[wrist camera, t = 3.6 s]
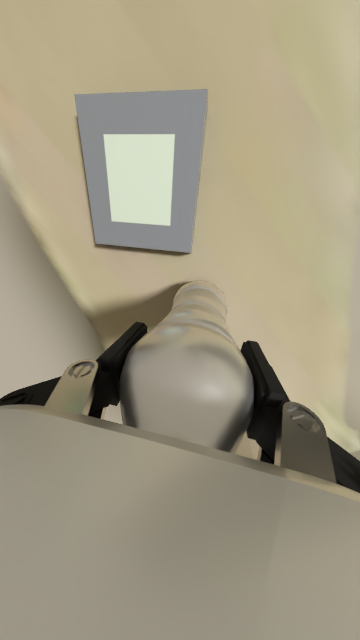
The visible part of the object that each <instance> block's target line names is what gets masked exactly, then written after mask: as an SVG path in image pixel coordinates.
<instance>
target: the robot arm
mask: <svg viewBox="0 0 360 640" xmlns="http://www.w3.org/2000/svg"><path fill="white" fill-rule="evenodd" d="M146 333H147V326H146V325H145V324H144V323H140V322H136V323H135V324H133V325H132V326H131V327H130V328H129V329H128V330H127V331H126V332H125V333H124V334H123V335H122V336H121V337H120V338H119V339H118V340H117V341H116V342H115V343H113V344H112V345H111V346H110V347H109V348H108V349H107V350H106V351H105V352H104V353H103V354H102V355H101V356H100V357H99V358H98V359H97V360H96V361H94V360H91V359H86V360H81V361H78V362H75V363H73V364H72V365H70V366H69V367H68V368H67V369H66V370H65V372H64V374H63V375H62V376H61V377H58V378H54V379H51V380H48V381H45V382H41V383H38V384H35V385H32V386H29V387H25V388H22V389H19V390H16V391H14V392H11V393H9V394H7V395H6V396H4V397H2V398H1V399H0V640H360V461H359V460H357V459H356V458H355V457H353V456H352V455H351V454H349V453H348V452H347V451H345V450H344V449H343V448H342V447H340V446H339V445H338V444H336V443H335V442H334V441H332V440H331V439H330V438H328V437H327V435H326V430H325V427H324V425H323V423H322V421H321V420H320V419H319V417H318V416H317V415H316V414H315V413H314V412H312V411H311V410H310V409H308V408H307V407H305V406H303V405H302V404H299V403H296V402H291V401H290V400H289V398H288V396H287V394H286V393H285V391H284V389H283V387H282V385H281V383H280V382H279V380H278V378H277V376H276V374H275V372H274V370H273V369H272V367H271V366H270V365H269V363H268V361H267V359H266V358H265V356H264V354H263V352H262V350H261V348H260V346H259V344H258V343H257V342H254V341H247V342H244V343H243V345H242V348H241V353H242V355H243V356H244V358H245V360H246V362H247V365H248V367H249V369H250V371H251V374H252V377H253V380H254V410H253V413H252V417H251V420H250V422H249V425H248V427H247V430H246V433H245V435H244V438H243V440H242V442H241V444H240V445H239V447H238V449H237V451H236V453H235V454H232V453H229V452H225V451H221V450H217V449H214V448H210V447H206V446H202V445H199V444H195V443H191V442H187V441H183V440H180V439H176V438H172V437H168V436H164V435H161V434H157V433H153V432H149V431H145V430H141V429H138V428H134V427H130V426H126V425H122V424H118V423H114V422H110V421H106V420H104V415H105V410H106V407H107V406H109V404H111V405H115V406H117V405H118V403H119V401H120V376H121V373H122V369H123V366H124V363H125V360H126V357H127V355H128V353H129V351H130V350H131V348H132V347H133V346H134V345H135V344H136V343H137V342H138V341H139V340H140V339H141V338H142V337H143V336H144V335H145V334H146Z"/></svg>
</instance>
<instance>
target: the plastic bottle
mask: <svg viewBox="0 0 360 640" xmlns="http://www.w3.org/2000/svg"><path fill="white" fill-rule="evenodd" d="M226 314H227V301H226V298H225V296H224V294H223V292H222V291H221V290H220V289H219V288H218V287H217V286H215V285H214V284H212V283H209V282H206V281H192V282H189V283H187V284H185V285H183V286H182V287H181V288H180V289H179V290H178V291H177V293H176V295H175V297H174V300H173V305H172V309H171V311H170V313H169V314H168V315H167V316H166V317H165V318H164V320H162V321H161V322H160V323H159V324H157V325H156V326H155V327H154V328H152V329H151V330H150V331H149V332H147V333H146V334H145V335H144V336H143V337H142V338H141V339H140V340H139V341H138V342H137V343H136V344H135V345H134V346H133V347H132V348H131V350H130V351H129V353H128V355H127V357H126V360H125V363H124V366H123V369H122V373H121V376H120V407H121V415H122V421H123V425H126V426H130V427H134V428H138V429H141V430H145V431H149V432H153V433H157V434H161V435H164V436H168V437H172V438H176V439H180V440H183V441H187V442H191V443H195V444H199V445H202V446H206V447H210V448H214V449H217V450H221V451H225V452H229V453H232V454H235V453H236V451H237V449H238V447H239V445H240V444H241V442H242V440H243V438H244V435H245V433H246V430H247V427H248V425H249V422H250V420H251V417H252V413H253V410H254V380H253V377H252V374H251V371H250V369H249V367H248V365H247V362H246V360H245V358H244V356H243V355H242V353H241V351H240V350H239V348H238V346H237V345H236V343H235V341H234V340H233V338H232V336H231V334H230V333H229V330H228V327H227V324H226Z"/></svg>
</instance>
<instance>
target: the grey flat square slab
mask: <svg viewBox="0 0 360 640" xmlns="http://www.w3.org/2000/svg"><path fill="white" fill-rule="evenodd" d="M75 102H76V109H77V116H78V123H79V130H80V137H81V144H82V151H83V159H84V166H85V173H86V180H87V187H88V194H89V201H90V208H91V215H92V222H93V229H94V236H95V243H96V244H106V245H116V246H126V247H136V248H146V249H156V250H166V251H176V252H186V253H191V252H192V243H193V234H194V225H195V216H196V207H197V198H198V189H199V180H200V171H201V162H202V153H203V144H204V135H205V126H206V117H207V108H208V90H207V89H201V90H176V91H150V92H125V93H100V94H75Z"/></svg>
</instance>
